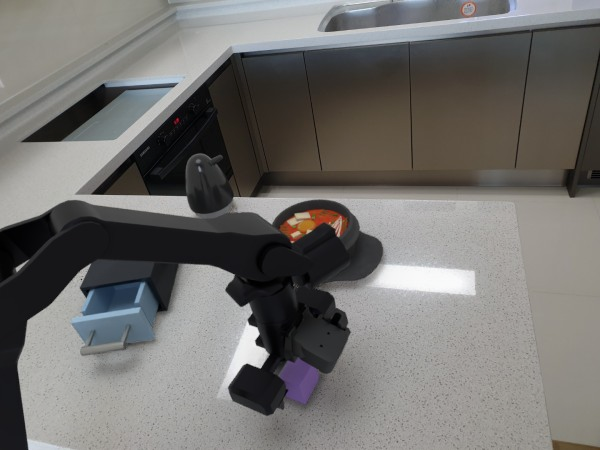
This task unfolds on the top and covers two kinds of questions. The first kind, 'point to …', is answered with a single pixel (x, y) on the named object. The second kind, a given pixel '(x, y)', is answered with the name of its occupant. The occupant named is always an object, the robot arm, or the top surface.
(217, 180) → the pump dispenser
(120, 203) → the top surface
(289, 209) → the casserole
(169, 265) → the black drawer cabinet
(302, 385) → the block
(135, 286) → the blue drawer
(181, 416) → the top surface
